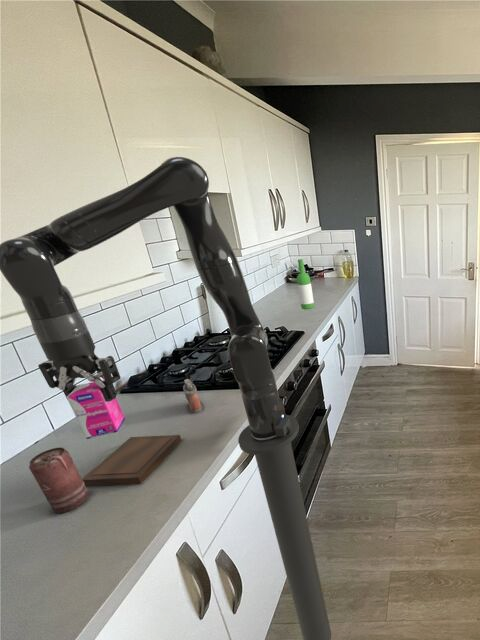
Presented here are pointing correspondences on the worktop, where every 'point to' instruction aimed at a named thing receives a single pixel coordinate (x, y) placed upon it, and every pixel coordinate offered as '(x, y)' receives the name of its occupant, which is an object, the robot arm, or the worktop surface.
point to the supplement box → (95, 410)
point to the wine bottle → (304, 287)
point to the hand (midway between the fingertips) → (94, 400)
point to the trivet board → (132, 461)
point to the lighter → (192, 396)
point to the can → (59, 479)
